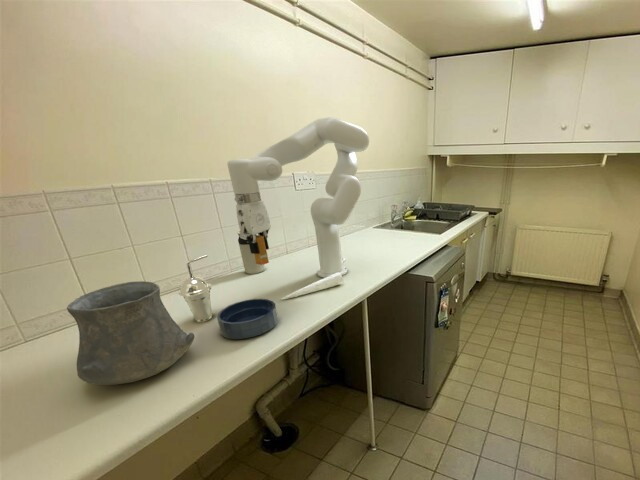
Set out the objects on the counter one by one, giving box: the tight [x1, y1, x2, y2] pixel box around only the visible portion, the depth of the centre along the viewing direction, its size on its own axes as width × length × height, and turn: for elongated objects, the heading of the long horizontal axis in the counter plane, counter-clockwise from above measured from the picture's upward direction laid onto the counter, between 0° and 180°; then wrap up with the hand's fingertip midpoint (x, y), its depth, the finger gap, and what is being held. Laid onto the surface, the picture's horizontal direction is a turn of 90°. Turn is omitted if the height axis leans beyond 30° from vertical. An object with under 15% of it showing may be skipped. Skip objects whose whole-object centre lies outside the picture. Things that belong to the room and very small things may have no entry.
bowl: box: [216, 298, 279, 340], centre depth 92 cm, size 15×15×6 cm
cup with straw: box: [178, 254, 213, 323], centre depth 95 cm, size 8×9×20 cm
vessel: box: [66, 280, 195, 386], centre depth 72 cm, size 22×22×20 cm
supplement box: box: [251, 234, 270, 266], centre depth 109 cm, size 3×3×10 cm
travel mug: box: [236, 230, 266, 275], centre depth 134 cm, size 8×8×18 cm
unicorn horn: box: [280, 272, 344, 301], centre depth 115 cm, size 5×24×5 cm, turn 126°
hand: (260, 250), depth 109 cm, fingers closed on supplement box, 4 cm apart
